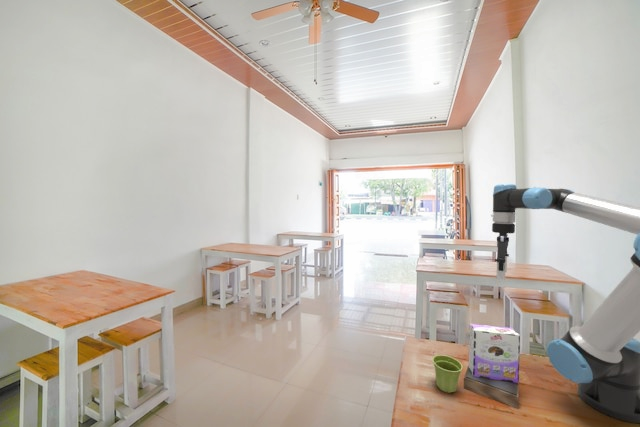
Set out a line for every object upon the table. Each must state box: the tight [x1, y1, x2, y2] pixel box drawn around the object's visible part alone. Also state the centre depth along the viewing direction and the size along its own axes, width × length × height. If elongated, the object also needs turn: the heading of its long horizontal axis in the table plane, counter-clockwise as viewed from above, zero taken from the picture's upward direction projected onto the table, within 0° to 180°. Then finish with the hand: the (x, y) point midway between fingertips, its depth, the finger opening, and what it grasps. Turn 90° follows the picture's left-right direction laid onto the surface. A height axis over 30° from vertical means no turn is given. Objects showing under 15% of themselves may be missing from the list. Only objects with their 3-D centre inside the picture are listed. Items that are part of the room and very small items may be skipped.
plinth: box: [463, 364, 520, 409], centre depth 90 cm, size 15×9×4 cm, turn 53°
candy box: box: [468, 323, 521, 384], centre depth 92 cm, size 14×6×16 cm, turn 75°
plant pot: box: [432, 354, 464, 394], centre depth 91 cm, size 9×9×9 cm
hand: (501, 275), depth 107 cm, fingers open, 13 cm apart
